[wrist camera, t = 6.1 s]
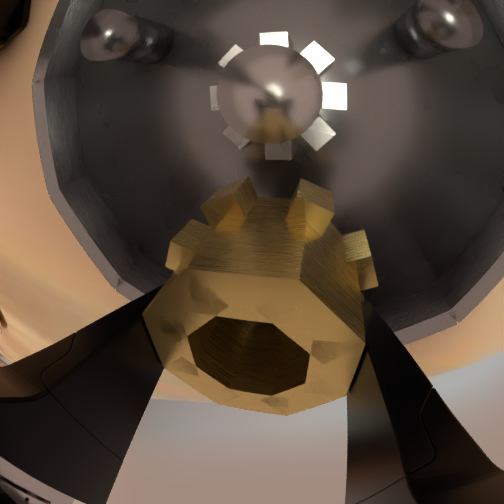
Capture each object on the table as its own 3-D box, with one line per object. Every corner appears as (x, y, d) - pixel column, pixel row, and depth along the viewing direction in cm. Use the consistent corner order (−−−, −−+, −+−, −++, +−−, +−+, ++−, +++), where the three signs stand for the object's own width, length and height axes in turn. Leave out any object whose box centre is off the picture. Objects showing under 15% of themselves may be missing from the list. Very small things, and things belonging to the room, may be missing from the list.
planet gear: (201, 322, 12) (163, 398, 8) (176, 176, 9) (94, 233, 5) (351, 339, 10) (351, 428, 7) (382, 184, 7) (425, 256, 4)
